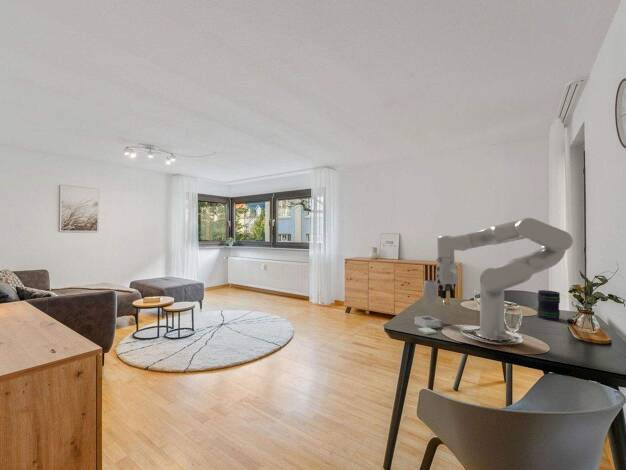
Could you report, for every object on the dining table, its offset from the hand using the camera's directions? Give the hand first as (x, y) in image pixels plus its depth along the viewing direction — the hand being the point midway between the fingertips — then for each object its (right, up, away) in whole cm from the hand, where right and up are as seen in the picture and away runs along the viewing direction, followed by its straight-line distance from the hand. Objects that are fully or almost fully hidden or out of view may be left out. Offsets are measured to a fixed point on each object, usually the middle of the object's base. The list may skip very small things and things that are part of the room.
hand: (446, 297), depth 149 cm
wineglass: (-1, -16, +18) cm, 24 cm away
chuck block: (-8, -16, +8) cm, 19 cm away
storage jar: (+67, -16, +22) cm, 72 cm away
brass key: (0, -3, 0) cm, 3 cm away
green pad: (-11, -16, -3) cm, 20 cm away
